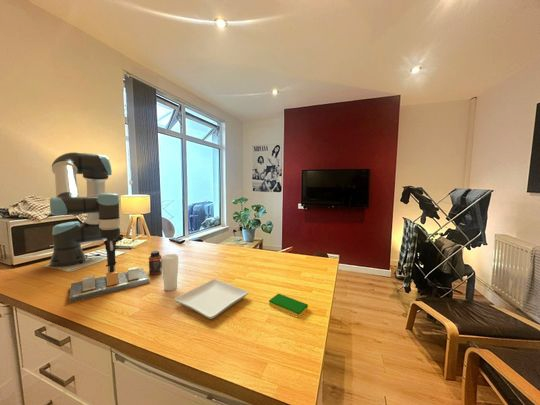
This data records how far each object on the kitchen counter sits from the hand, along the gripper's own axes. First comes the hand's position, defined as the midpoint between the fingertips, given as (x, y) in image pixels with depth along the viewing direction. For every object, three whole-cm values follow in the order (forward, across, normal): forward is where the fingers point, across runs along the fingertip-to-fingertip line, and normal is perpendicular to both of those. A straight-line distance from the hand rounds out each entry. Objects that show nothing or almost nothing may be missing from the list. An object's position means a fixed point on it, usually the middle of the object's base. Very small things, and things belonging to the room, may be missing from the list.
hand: (111, 278), depth 97 cm
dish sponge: (+4, +63, +51) cm, 81 cm away
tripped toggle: (+1, +3, 0) cm, 3 cm away
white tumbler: (+4, +19, +20) cm, 28 cm away
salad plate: (+4, +41, +30) cm, 51 cm away
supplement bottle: (+4, -4, +19) cm, 20 cm away
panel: (+4, -1, 0) cm, 4 cm away
